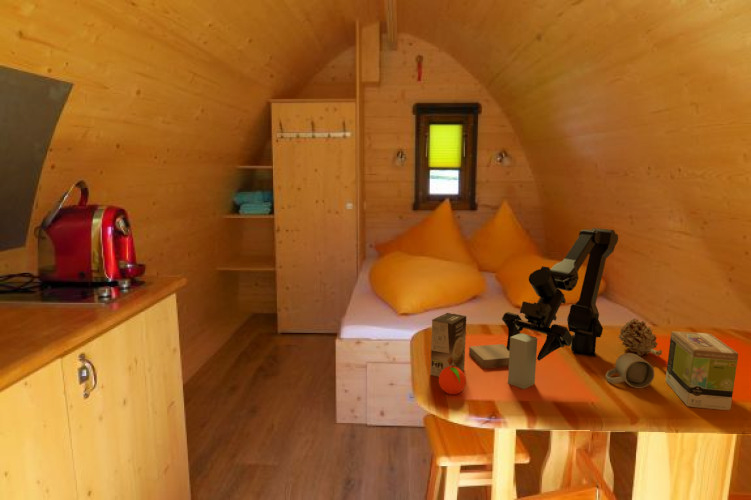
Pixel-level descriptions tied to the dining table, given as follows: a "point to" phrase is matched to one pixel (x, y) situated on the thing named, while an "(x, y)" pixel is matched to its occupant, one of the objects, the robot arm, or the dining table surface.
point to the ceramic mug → (632, 371)
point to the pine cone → (639, 338)
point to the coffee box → (448, 342)
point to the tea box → (701, 370)
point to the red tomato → (452, 380)
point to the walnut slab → (490, 355)
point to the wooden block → (522, 360)
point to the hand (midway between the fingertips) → (522, 354)
